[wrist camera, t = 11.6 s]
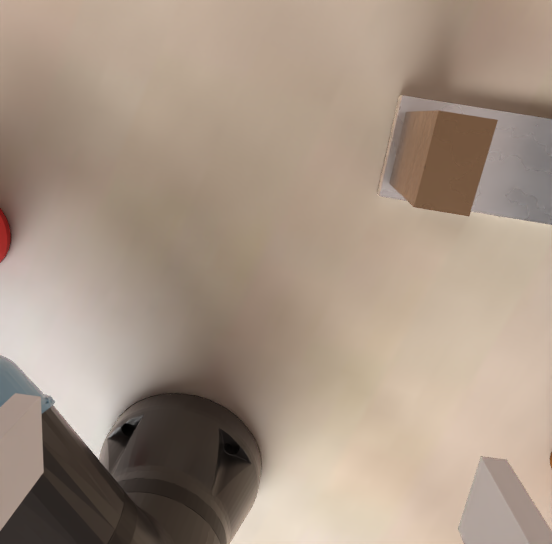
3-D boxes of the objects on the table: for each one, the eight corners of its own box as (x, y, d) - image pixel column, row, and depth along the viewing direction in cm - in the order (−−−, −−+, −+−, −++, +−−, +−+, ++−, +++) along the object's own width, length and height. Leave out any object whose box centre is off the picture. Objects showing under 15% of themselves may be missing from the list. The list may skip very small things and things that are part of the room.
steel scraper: (376, 192, 35) (400, 223, 25) (398, 96, 33) (434, 87, 23) (626, 234, 34) (751, 282, 25) (666, 138, 32) (822, 149, 22)
